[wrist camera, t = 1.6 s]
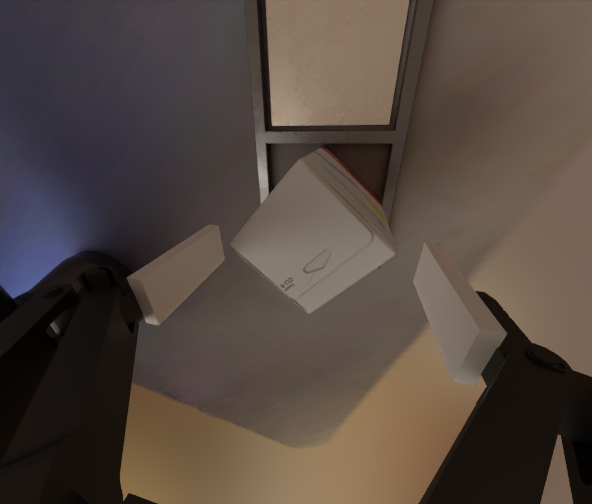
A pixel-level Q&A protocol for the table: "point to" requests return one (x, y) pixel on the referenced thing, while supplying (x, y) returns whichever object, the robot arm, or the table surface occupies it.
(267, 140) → the grey flat rectangular frame
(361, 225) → the ink box
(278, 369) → the table surface
